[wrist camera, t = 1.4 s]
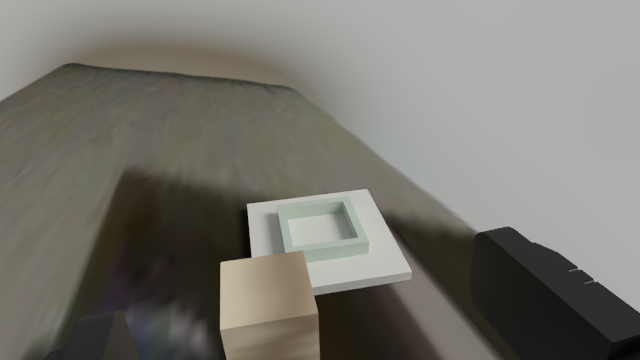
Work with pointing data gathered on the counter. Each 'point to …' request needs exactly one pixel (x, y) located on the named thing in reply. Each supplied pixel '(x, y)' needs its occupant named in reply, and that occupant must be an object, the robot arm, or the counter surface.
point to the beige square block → (268, 309)
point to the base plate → (330, 239)
